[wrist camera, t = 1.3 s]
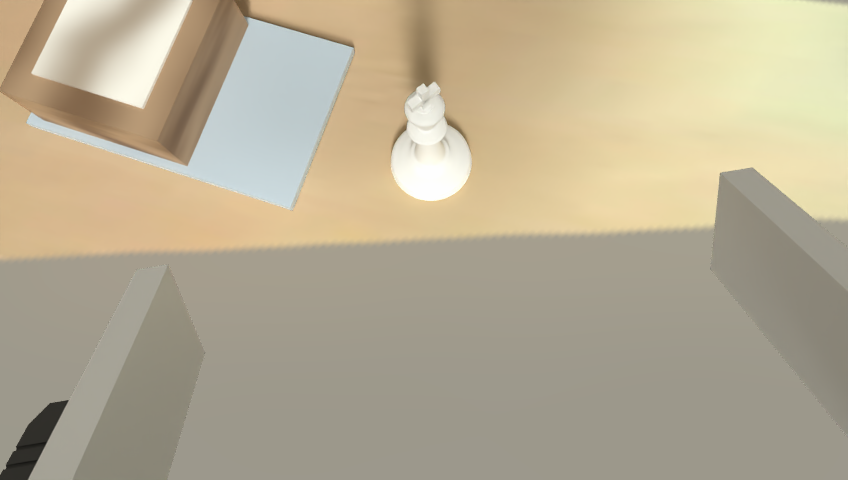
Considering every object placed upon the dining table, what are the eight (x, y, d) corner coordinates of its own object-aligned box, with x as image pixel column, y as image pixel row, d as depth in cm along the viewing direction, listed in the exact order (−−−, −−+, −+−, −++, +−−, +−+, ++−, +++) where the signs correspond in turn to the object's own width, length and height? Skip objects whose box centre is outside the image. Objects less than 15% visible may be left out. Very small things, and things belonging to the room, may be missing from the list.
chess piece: (374, 155, 41) (348, 81, 31) (438, 109, 41) (432, 21, 32) (423, 217, 40) (412, 159, 30) (488, 168, 40) (497, 96, 31)
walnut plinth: (251, 29, 43) (225, -17, 38) (191, 169, 41) (155, 139, 36) (114, -10, 44) (71, -60, 40) (49, 124, 42) (-4, 89, 38)
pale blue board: (354, 52, 42) (353, 47, 42) (292, 210, 40) (290, 207, 40) (103, -21, 45) (99, -26, 44) (32, 126, 42) (26, 122, 42)
